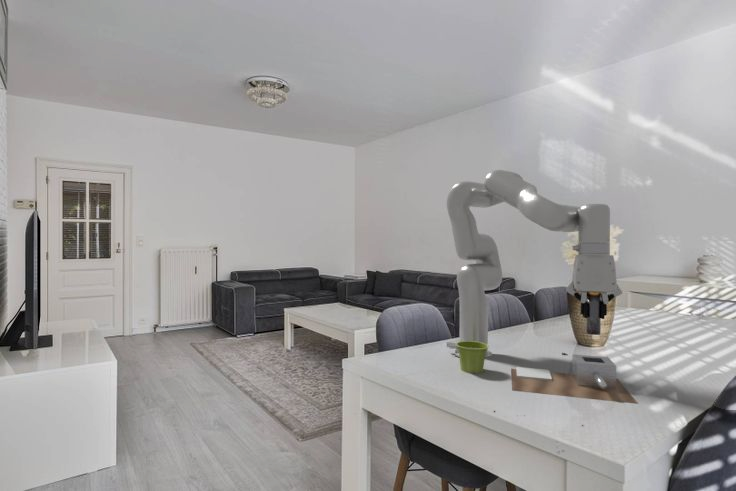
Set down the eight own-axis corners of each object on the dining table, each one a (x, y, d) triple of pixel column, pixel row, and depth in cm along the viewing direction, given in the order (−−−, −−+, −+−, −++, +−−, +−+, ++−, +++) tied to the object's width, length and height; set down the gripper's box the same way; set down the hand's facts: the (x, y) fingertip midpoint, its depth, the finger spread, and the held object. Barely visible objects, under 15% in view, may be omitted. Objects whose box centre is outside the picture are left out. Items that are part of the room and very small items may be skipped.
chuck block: (582, 395, 104) (583, 371, 104) (572, 375, 120) (572, 354, 120) (624, 400, 101) (624, 375, 101) (607, 378, 117) (608, 357, 117)
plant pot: (489, 371, 128) (489, 342, 128) (487, 380, 119) (487, 349, 119) (457, 367, 131) (458, 340, 131) (453, 376, 122) (454, 346, 122)
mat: (517, 377, 118) (517, 375, 118) (516, 368, 126) (516, 366, 126) (552, 380, 115) (552, 378, 115) (548, 371, 124) (548, 369, 124)
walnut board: (512, 395, 107) (512, 390, 107) (510, 372, 126) (510, 368, 126) (638, 408, 99) (638, 403, 99) (616, 382, 118) (616, 378, 118)
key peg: (587, 334, 113) (587, 289, 113) (585, 331, 116) (585, 288, 116) (601, 335, 112) (602, 290, 112) (599, 332, 115) (599, 288, 115)
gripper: (562, 249, 113) (561, 318, 113) (632, 250, 108) (632, 322, 108) (558, 249, 120) (558, 314, 120) (624, 250, 115) (624, 317, 115)
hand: (593, 317), depth 114 cm, fingers closed on key peg, 3 cm apart
